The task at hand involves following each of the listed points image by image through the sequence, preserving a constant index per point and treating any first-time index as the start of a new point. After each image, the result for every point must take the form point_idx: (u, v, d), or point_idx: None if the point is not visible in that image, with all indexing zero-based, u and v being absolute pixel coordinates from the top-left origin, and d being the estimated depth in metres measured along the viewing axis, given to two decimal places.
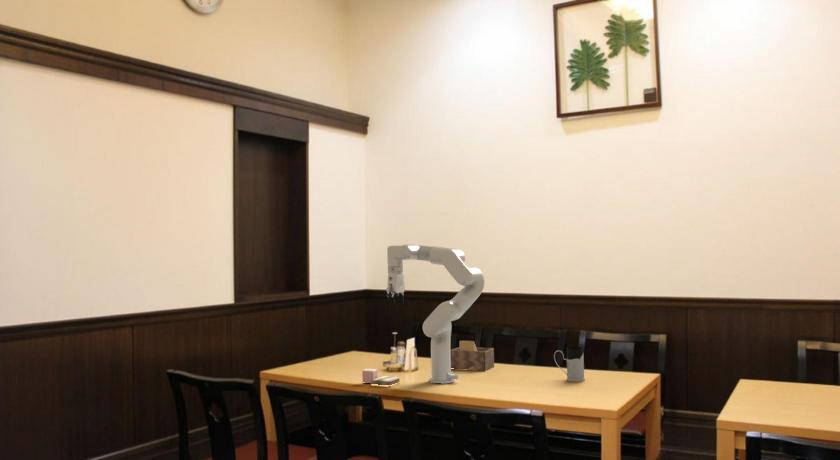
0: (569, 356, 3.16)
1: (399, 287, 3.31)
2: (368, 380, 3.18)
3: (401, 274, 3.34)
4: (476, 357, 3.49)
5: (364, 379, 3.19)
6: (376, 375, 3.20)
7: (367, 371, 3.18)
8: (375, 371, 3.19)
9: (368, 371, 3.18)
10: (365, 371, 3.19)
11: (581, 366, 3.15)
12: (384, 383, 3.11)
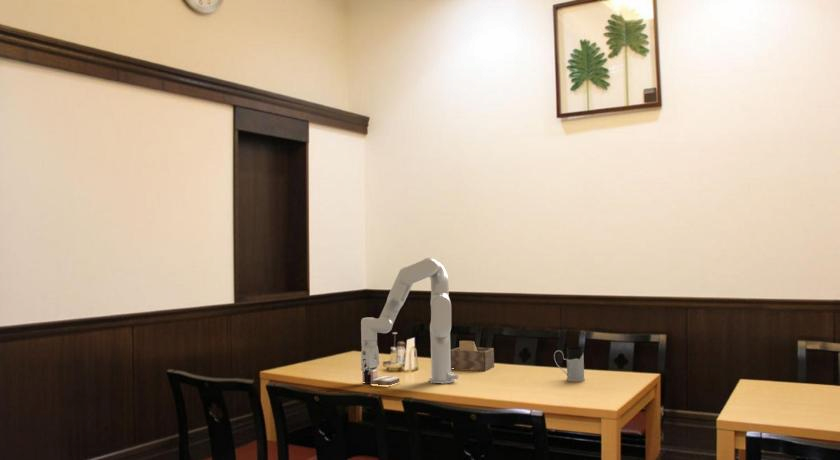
0: (569, 356, 3.16)
1: (373, 362, 3.18)
2: None
3: (375, 347, 3.21)
4: (476, 357, 3.49)
5: None
6: (376, 375, 3.20)
7: None
8: (375, 371, 3.19)
9: None
10: None
11: (581, 366, 3.15)
12: (384, 383, 3.11)
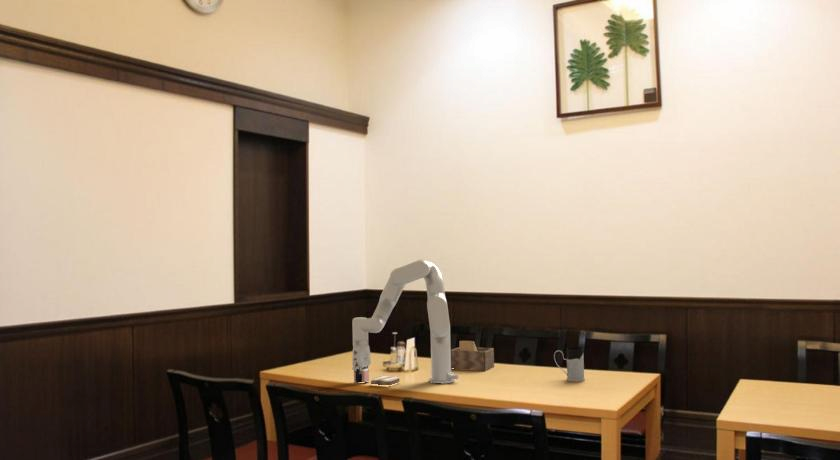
0: (569, 356, 3.16)
1: (364, 361, 3.20)
2: None
3: (367, 347, 3.23)
4: (476, 357, 3.49)
5: (355, 378, 3.21)
6: (367, 374, 3.22)
7: None
8: (366, 370, 3.21)
9: None
10: None
11: (581, 366, 3.15)
12: (384, 383, 3.11)
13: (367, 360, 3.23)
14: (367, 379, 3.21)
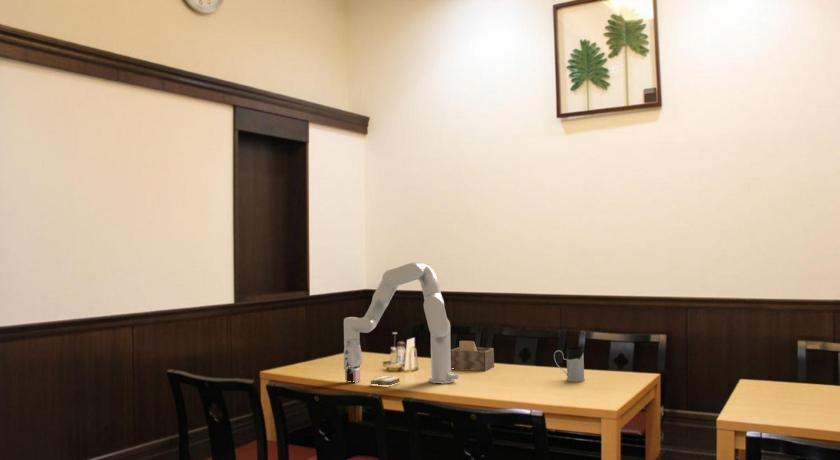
0: (569, 356, 3.16)
1: (355, 361, 3.22)
2: None
3: (358, 347, 3.25)
4: (476, 357, 3.49)
5: None
6: (359, 374, 3.24)
7: None
8: (358, 370, 3.23)
9: None
10: None
11: (581, 366, 3.15)
12: (384, 383, 3.11)
13: (358, 360, 3.25)
14: (358, 378, 3.24)
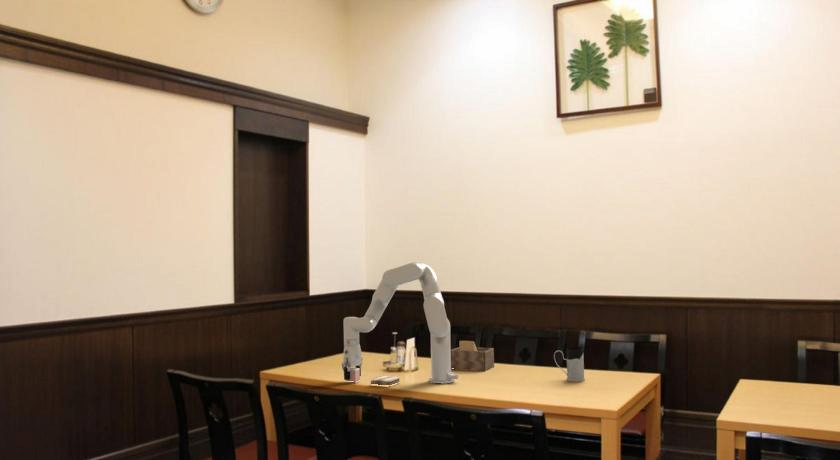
0: (569, 356, 3.16)
1: (355, 360, 3.22)
2: (351, 379, 3.22)
3: (358, 346, 3.25)
4: (476, 357, 3.49)
5: None
6: (358, 374, 3.24)
7: (349, 370, 3.23)
8: (357, 370, 3.23)
9: (350, 370, 3.23)
10: None
11: (581, 366, 3.15)
12: (384, 383, 3.11)
13: (358, 359, 3.25)
14: (358, 378, 3.24)
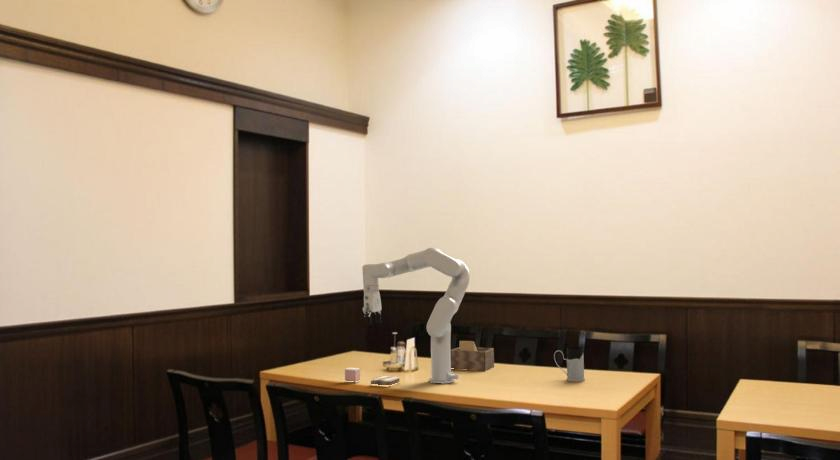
0: (569, 356, 3.16)
1: (376, 306, 3.28)
2: (351, 379, 3.22)
3: (377, 293, 3.30)
4: (476, 357, 3.49)
5: (346, 378, 3.24)
6: (358, 374, 3.24)
7: (349, 370, 3.23)
8: (357, 370, 3.23)
9: (350, 370, 3.23)
10: (347, 370, 3.23)
11: (581, 366, 3.15)
12: (384, 383, 3.11)
13: (378, 305, 3.30)
14: (358, 378, 3.24)
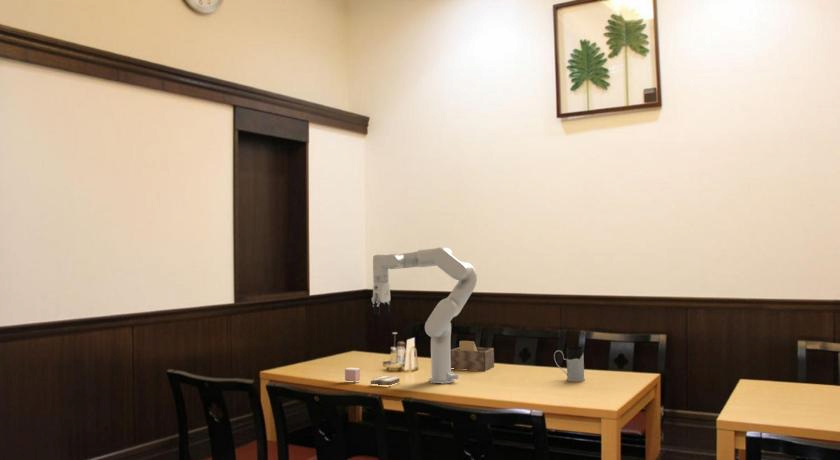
0: (569, 356, 3.16)
1: (384, 296, 3.30)
2: (351, 379, 3.22)
3: (387, 283, 3.33)
4: (476, 357, 3.49)
5: (346, 378, 3.24)
6: (358, 374, 3.24)
7: (349, 370, 3.23)
8: (357, 370, 3.23)
9: (350, 370, 3.23)
10: (347, 370, 3.23)
11: (581, 366, 3.15)
12: (384, 383, 3.11)
13: (387, 296, 3.32)
14: (358, 378, 3.24)
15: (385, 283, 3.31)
